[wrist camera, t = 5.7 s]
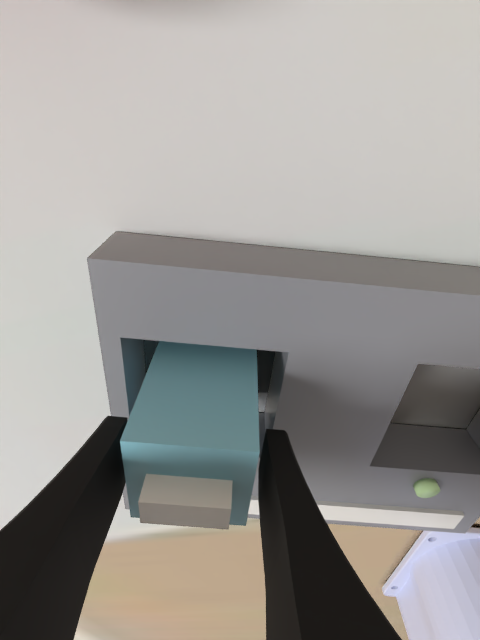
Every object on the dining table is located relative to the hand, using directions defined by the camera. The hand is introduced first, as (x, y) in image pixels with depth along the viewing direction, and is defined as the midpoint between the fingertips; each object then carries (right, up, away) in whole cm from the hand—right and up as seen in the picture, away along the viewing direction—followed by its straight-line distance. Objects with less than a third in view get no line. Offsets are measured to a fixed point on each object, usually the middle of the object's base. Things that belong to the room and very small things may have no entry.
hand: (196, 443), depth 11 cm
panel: (+5, +1, +4) cm, 7 cm away
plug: (0, +2, +4) cm, 4 cm away
